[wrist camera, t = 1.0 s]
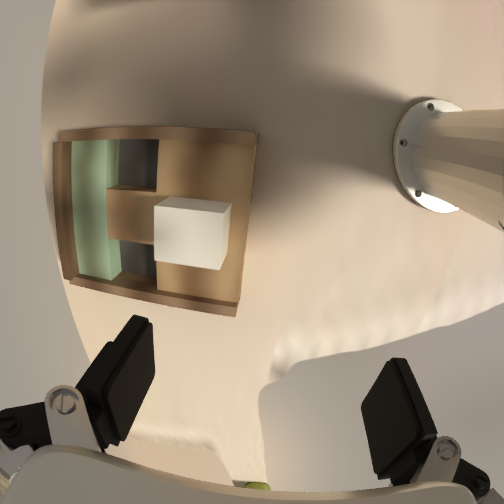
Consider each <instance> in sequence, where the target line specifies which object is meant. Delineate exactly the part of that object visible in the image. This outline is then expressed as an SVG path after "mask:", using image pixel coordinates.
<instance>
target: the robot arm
mask: <svg viewBox="0 0 504 504" xmlns="http://www.w3.org/2000/svg"><path fill="white" fill-rule="evenodd" d="M428 107H429V109H428ZM400 140H401V141H402V145H400ZM393 157H394V165H395V169H396V172H397V175H398V178H399V180H400V182H401V184H402V186H403V188H404V189H405V191H406V192H407V194H408V195H409V196H410V197H411V198H412V199H413V200H414V201H415V202H416V203H418V204H419V205H421V206H422V207H424V208H426V209H428V210H430V211H434V212H438V213H449V212H453V211H456V210H458V209H461V210H463V211H465V212H467V213H469V214H471V215H473V216H475V217H477V218H478V219H480V220H482V221H484V222H486V223H488V224H490V225H491V226H493V227H495V228H497V229H499V230H500V231H502V232H504V109H499V110H471V111H464V110H463V109H462V108H460V107H459V106H457V105H456V104H454V103H452V102H449V101H446V100H442V99H430V100H425V101H422V102H419V103H417V104H416V105H414V106H412V107H411V108H410V109H409V110H408V111H407V112H406V113H405V114H404V115H403V117H402V119H401V120H400V122H399V124H398V127H397V129H396V132H395V137H394V143H393ZM415 191H416V194H415ZM154 375H155V361H154V345H153V325H152V323H150V322H149V320H148V318H145V317H142V316H138V315H133V316H132V317H131V318H130V320H129V321H128V322H127V324H126V325H125V326H124V328H123V329H122V330H121V332H120V333H119V335H118V336H117V337H116V339H115V340H114V342H111V341H109V342H107V343H106V344H105V346H104V347H103V348H102V350H101V351H100V353H99V354H98V355H97V357H96V358H95V359H94V361H93V362H92V364H91V365H90V367H89V368H88V369H87V371H86V372H85V374H84V375H83V377H82V378H81V379H80V381H79V382H78V384H77V385H76V387H75V388H74V387H72V386H68V385H60V386H56V387H54V388H52V389H51V390H50V391H49V392H48V393H47V395H46V397H45V402H40V403H35V404H30V405H25V406H19V407H13V408H8V409H4V410H2V411H0V504H504V499H503V498H502V497H501V496H500V495H499V494H498V493H497V492H496V491H495V489H494V488H492V489H490V480H489V477H488V475H487V474H486V473H485V472H483V471H482V470H480V469H479V468H477V467H475V466H473V465H471V464H470V463H468V462H467V461H465V460H463V459H461V458H460V457H461V448H460V446H459V444H458V443H457V442H456V440H454V439H453V438H451V437H448V436H442V437H439V438H438V439H437V436H436V434H437V433H438V432H437V430H436V427H435V425H434V422H433V420H432V417H431V415H430V412H429V410H428V407H427V405H426V402H425V400H424V398H423V395H422V393H421V391H420V388H419V386H418V384H417V382H416V379H415V377H414V375H413V373H412V371H411V369H410V366H409V364H408V362H407V360H406V359H405V358H392V359H390V361H387V362H386V364H385V365H384V367H383V369H382V371H381V372H380V374H379V376H378V378H377V379H376V381H375V383H374V385H373V386H372V388H371V389H370V391H369V393H368V394H367V396H366V397H365V399H364V400H363V402H362V405H361V411H362V416H363V420H364V425H365V430H366V434H367V439H368V444H369V448H370V454H371V459H372V465H373V470H374V472H375V474H377V476H378V480H381V479H389V478H390V480H391V483H390V485H389V486H388V487H385V488H376V489H367V490H356V491H340V492H286V491H270V490H259V489H250V488H242V487H234V486H227V485H221V484H215V483H210V482H205V481H200V480H195V479H191V478H186V477H182V476H178V475H174V474H171V473H167V472H163V471H159V470H156V469H152V468H149V467H146V466H142V465H139V464H136V463H133V462H130V461H127V460H124V459H121V458H118V457H115V456H112V455H109V454H107V453H106V450H105V449H106V448H108V446H109V444H113V445H115V446H118V445H119V443H120V441H125V439H126V438H127V435H128V433H129V431H130V429H131V426H132V424H133V422H134V420H135V417H136V415H137V413H138V411H139V409H140V407H141V404H142V402H143V400H144V398H145V396H146V394H147V391H148V389H149V387H150V385H151V383H152V381H153V379H154ZM19 467H20V469H18V468H19ZM17 471H18V472H17ZM15 472H17V473H16V475H15V477H14V478H13V480H12V482H11V484H10V486H9V479H10V476H11V475H13V473H15Z"/></svg>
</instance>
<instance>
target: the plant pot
mask: <svg viewBox="0 0 504 504" xmlns="http://www.w3.org/2000/svg"><path fill="white" fill-rule="evenodd" d="M245 488H250V489H259V490H270V486H269V485H268V484H263V483H260V482H252V483H249V484H246V487H245Z"/></svg>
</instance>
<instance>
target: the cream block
mask: <svg viewBox="0 0 504 504" xmlns="http://www.w3.org/2000/svg"><path fill="white" fill-rule="evenodd" d="M231 205H232V203H228V202H220V201H211V200H201V199H192V198H182V197H171V196H170V197H169V198H167V199H165V200H163V201H162V202H160V203H158V204H156V205H155V206H154V260H155V261H161V262H168V263H174V264H181V265H187V266H194V267H200V268H207V269H214V270H220V268H221V266H222V264H223V261H224V259H225V257H226V255H227V250H228V238H229V227H230V216H231Z"/></svg>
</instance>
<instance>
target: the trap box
mask: <svg viewBox="0 0 504 504" xmlns="http://www.w3.org/2000/svg"><path fill="white" fill-rule="evenodd" d="M257 141H258V133H256V132H250V131H240V130H228V129H214V128H196V127H111V128H94V129H81V130H70V131H61V132H60V133H59V142H57V143H53V187H54V206H55V218H56V228H57V237H58V245H59V252H60V259H61V265H62V271H63V277H64V279H67V280H69V282H70V284H73V285H77V286H81V287H85V288H89V289H93V290H97V291H101V292H106V293H110V294H114V295H119V296H123V297H128V298H132V299H137V300H142V301H147V302H152V303H157V304H162V305H167V306H172V307H177V308H183V309H188V310H194V311H200V312H206V313H212V314H218V315H224V316H231V317H235V316H236V312H237V308H238V304H239V300H240V292H241V283H242V274H243V265H244V256H245V246H246V237H247V228H248V219H249V210H250V202H251V193H252V184H253V175H254V166H255V158H256V149H257ZM170 196H171V197H182V198H192V199H201V200H211V201H220V202H228V203H232V205H231V216H230V227H229V238H228V250H227V255H226V257H225V259H224V261H223V264H222V266H221V268H220V270H214V269H207V268H200V267H194V266H187V265H181V264H174V263H168V262H161V261H155V260H154V206H155V205H156V204H158V203H160V202H162V201H163V200H165V199H167V198H169V197H170Z"/></svg>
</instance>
